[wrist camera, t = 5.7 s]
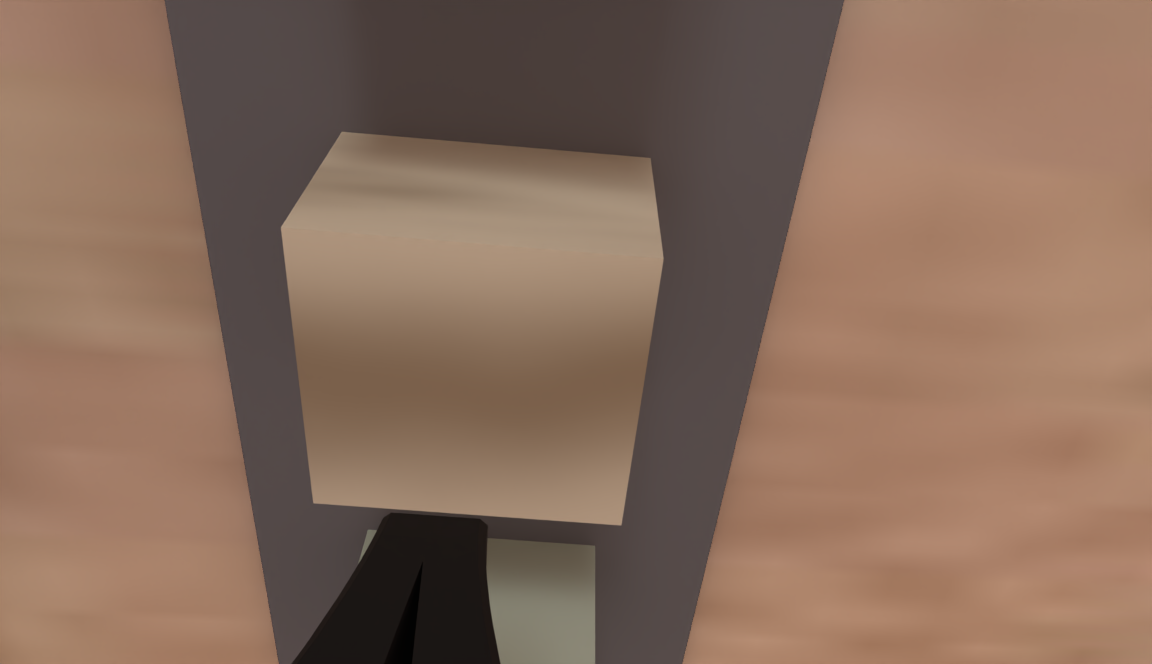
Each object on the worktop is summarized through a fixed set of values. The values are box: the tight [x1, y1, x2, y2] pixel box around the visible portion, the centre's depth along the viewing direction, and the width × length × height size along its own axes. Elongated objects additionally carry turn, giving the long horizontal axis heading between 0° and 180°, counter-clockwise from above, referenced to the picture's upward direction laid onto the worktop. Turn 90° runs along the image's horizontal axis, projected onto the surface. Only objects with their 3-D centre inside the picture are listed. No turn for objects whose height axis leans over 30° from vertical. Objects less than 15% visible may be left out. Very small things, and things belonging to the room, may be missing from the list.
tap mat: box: [165, 0, 844, 664], centre depth 19 cm, size 30×12×1 cm, turn 175°
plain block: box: [281, 132, 664, 525], centre depth 17 cm, size 6×6×4 cm
